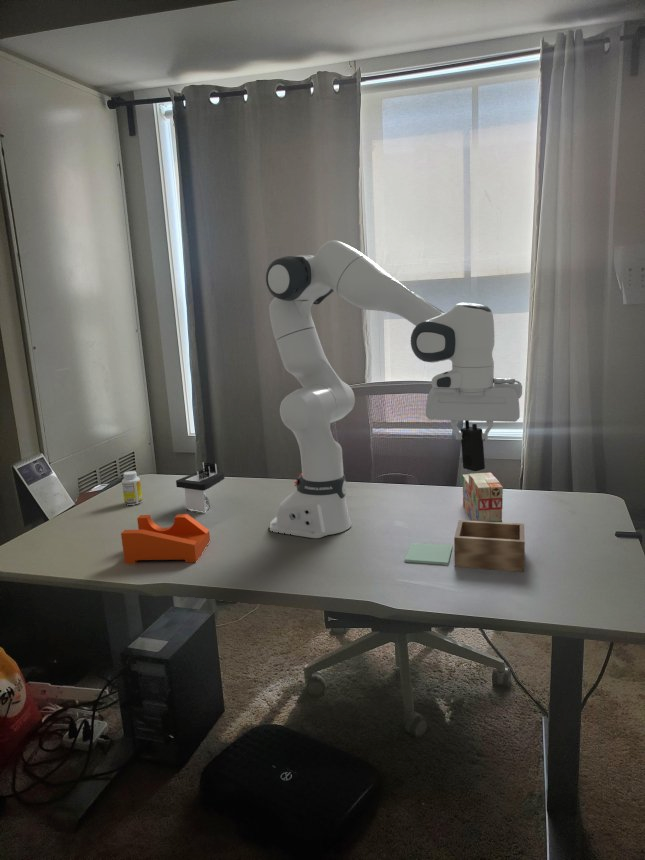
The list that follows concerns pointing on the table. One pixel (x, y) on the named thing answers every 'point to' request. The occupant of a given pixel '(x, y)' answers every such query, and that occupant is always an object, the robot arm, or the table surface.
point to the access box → (489, 545)
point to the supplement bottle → (131, 488)
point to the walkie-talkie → (472, 448)
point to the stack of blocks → (482, 497)
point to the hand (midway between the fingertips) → (471, 439)
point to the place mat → (429, 553)
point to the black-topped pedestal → (199, 486)
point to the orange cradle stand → (165, 540)
